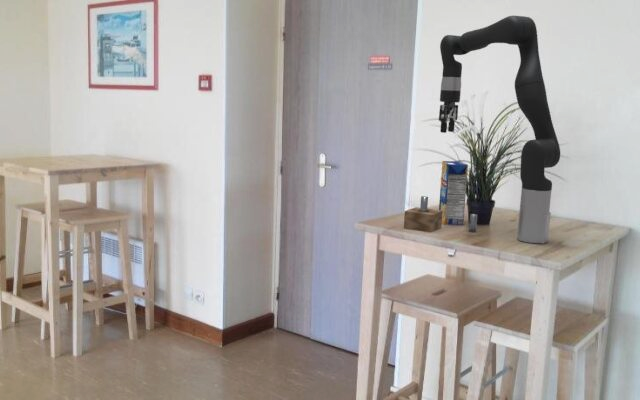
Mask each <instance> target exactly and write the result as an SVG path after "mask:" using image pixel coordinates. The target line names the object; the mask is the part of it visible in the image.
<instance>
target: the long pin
mask: <svg viewBox="0 0 640 400" xmlns="http://www.w3.org/2000/svg"><path fill="white" fill-rule="evenodd" d="M428 202H429V197H428V196H425V195H424V196H423V195H422V196H421V197H420V207H419V208H420V211H421V212H427V209H428V204H429V203H428Z"/></svg>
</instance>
